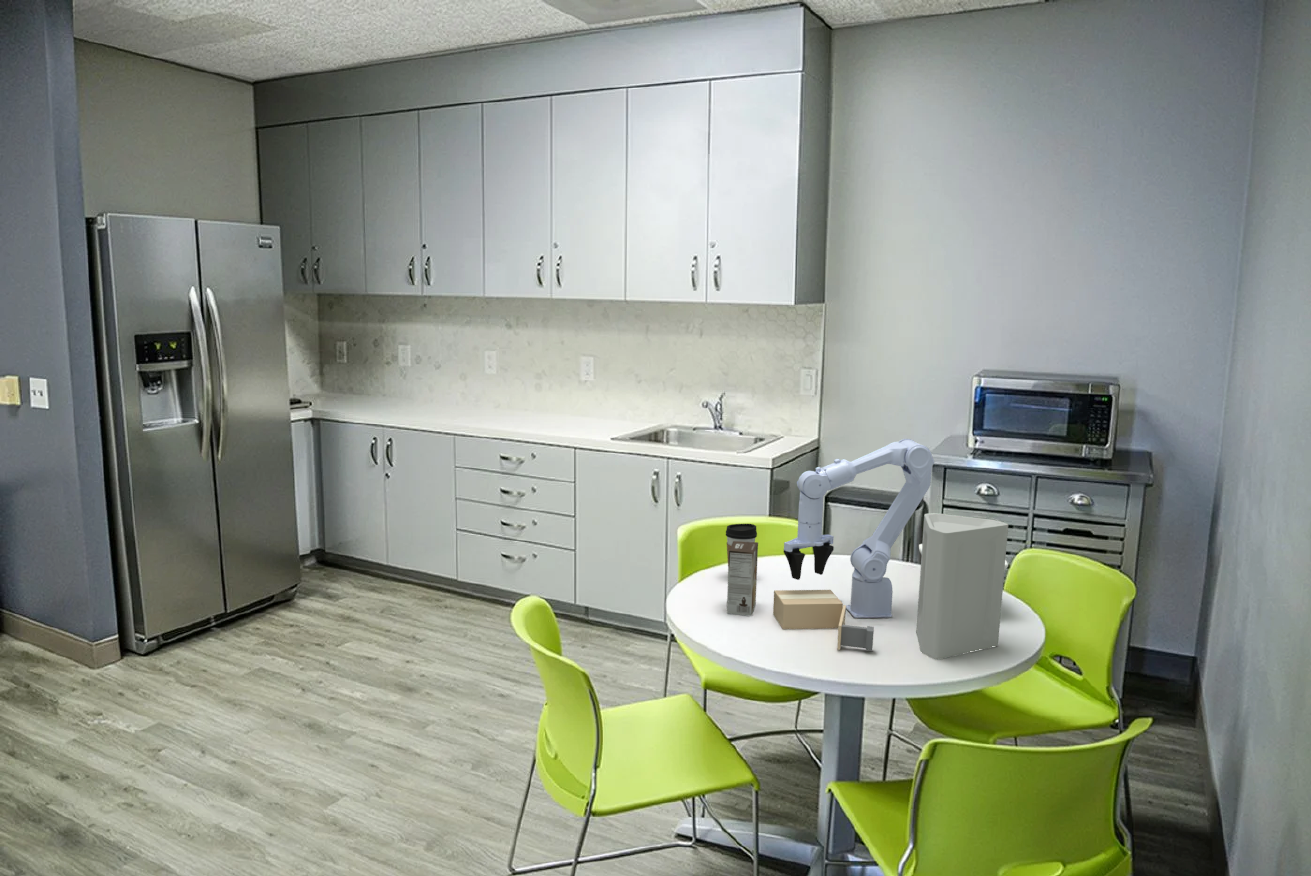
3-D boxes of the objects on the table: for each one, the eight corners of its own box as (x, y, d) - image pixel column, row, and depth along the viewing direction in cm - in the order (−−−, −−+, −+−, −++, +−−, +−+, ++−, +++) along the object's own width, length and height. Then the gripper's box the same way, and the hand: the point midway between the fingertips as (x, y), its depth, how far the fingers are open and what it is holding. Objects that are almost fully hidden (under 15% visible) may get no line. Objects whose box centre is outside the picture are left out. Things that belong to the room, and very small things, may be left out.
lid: (842, 627, 216) (843, 604, 215) (874, 631, 214) (876, 608, 213) (837, 649, 203) (838, 625, 202) (871, 653, 201) (873, 629, 200)
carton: (829, 613, 226) (830, 589, 225) (841, 628, 216) (843, 603, 215) (773, 614, 225) (774, 589, 224) (782, 629, 215) (783, 603, 214)
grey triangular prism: (950, 624, 220) (959, 509, 216) (999, 645, 208) (1010, 524, 203) (888, 636, 212) (896, 517, 207) (935, 659, 199) (945, 533, 194)
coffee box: (730, 601, 233) (732, 539, 230) (756, 604, 232) (758, 541, 229) (726, 614, 224) (728, 549, 221) (752, 616, 223) (755, 552, 220)
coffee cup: (756, 584, 247) (758, 530, 244) (724, 584, 247) (726, 529, 244) (753, 575, 255) (755, 522, 253) (723, 574, 255) (724, 521, 253)
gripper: (799, 529, 215) (796, 585, 217) (843, 521, 223) (840, 575, 225) (778, 522, 220) (776, 577, 223) (822, 515, 229) (820, 568, 231)
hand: (807, 575), depth 224 cm, fingers open, 7 cm apart
